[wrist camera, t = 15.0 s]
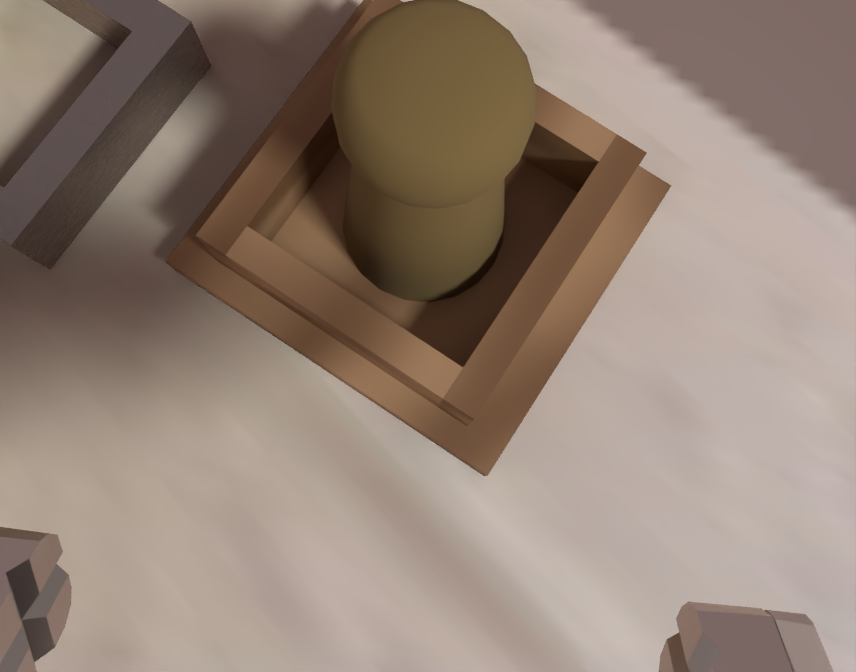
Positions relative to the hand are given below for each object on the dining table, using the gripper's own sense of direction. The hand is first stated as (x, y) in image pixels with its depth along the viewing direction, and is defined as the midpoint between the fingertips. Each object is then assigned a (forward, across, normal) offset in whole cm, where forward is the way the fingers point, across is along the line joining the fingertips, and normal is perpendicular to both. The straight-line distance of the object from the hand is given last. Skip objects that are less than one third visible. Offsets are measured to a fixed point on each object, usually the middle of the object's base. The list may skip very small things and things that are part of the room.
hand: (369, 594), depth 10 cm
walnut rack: (+21, 0, +5) cm, 21 cm away
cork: (+20, 0, +4) cm, 20 cm away
